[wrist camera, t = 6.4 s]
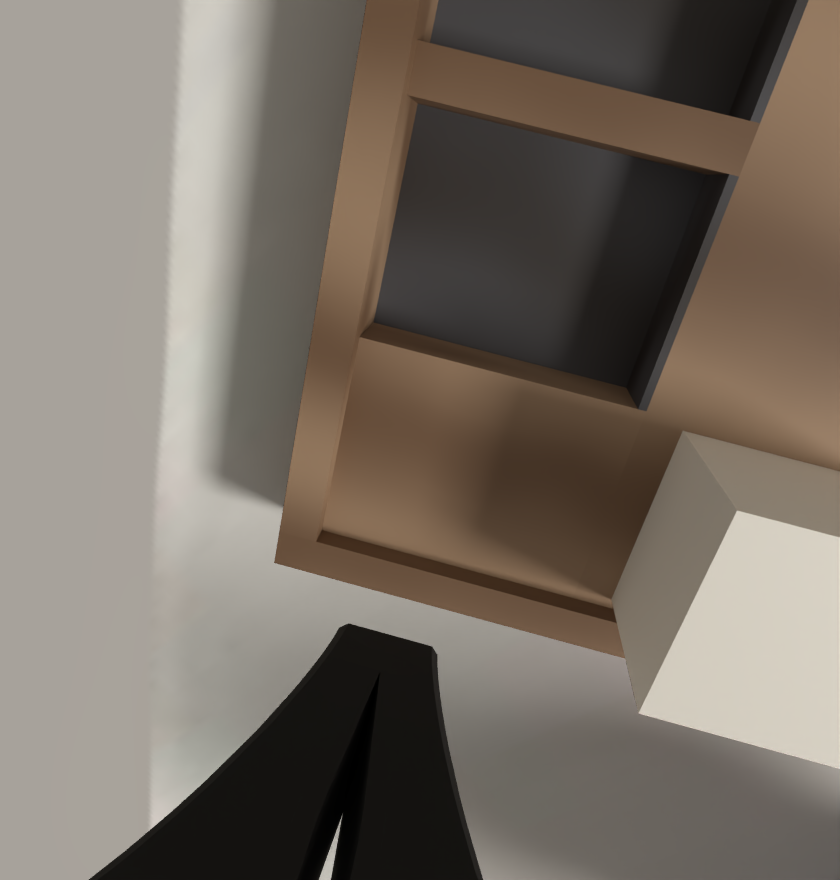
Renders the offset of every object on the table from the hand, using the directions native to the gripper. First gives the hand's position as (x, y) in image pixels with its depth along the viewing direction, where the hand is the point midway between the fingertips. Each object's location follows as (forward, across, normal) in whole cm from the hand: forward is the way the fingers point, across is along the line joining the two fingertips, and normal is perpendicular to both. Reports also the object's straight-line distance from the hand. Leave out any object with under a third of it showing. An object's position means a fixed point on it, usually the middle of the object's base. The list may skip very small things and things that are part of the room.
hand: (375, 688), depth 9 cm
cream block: (+8, -8, 0) cm, 11 cm away
